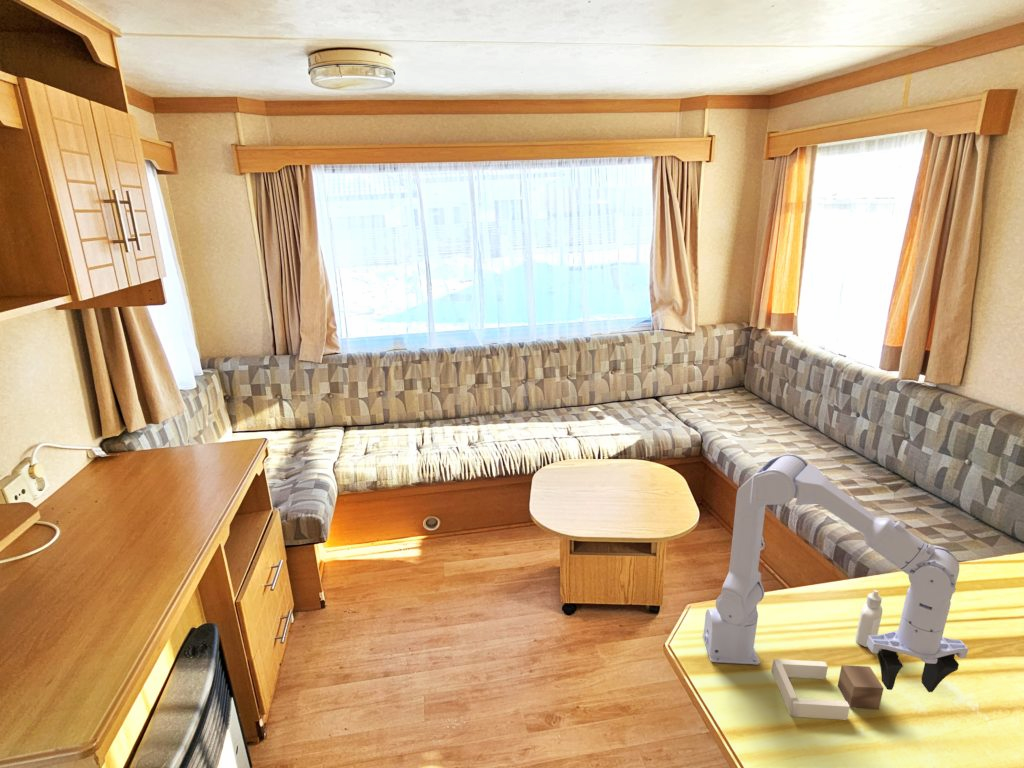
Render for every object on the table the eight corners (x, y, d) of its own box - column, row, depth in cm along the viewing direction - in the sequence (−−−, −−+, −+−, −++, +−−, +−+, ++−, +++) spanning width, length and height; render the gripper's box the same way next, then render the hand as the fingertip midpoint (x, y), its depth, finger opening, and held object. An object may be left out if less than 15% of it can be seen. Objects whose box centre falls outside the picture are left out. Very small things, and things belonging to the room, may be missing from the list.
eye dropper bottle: (885, 644, 121) (896, 595, 117) (862, 649, 120) (873, 600, 116) (868, 629, 125) (878, 582, 121) (846, 634, 124) (855, 586, 120)
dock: (790, 716, 105) (793, 703, 104) (771, 671, 114) (773, 658, 114) (847, 719, 104) (849, 706, 103) (822, 674, 114) (825, 661, 113)
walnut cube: (849, 708, 106) (854, 686, 105) (837, 686, 111) (841, 665, 109) (878, 710, 106) (883, 688, 104) (865, 687, 110) (869, 666, 109)
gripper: (888, 635, 92) (873, 703, 96) (987, 640, 90) (967, 708, 94) (866, 604, 98) (853, 669, 102) (958, 609, 97) (941, 674, 101)
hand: (906, 686), depth 99 cm, fingers open, 6 cm apart
